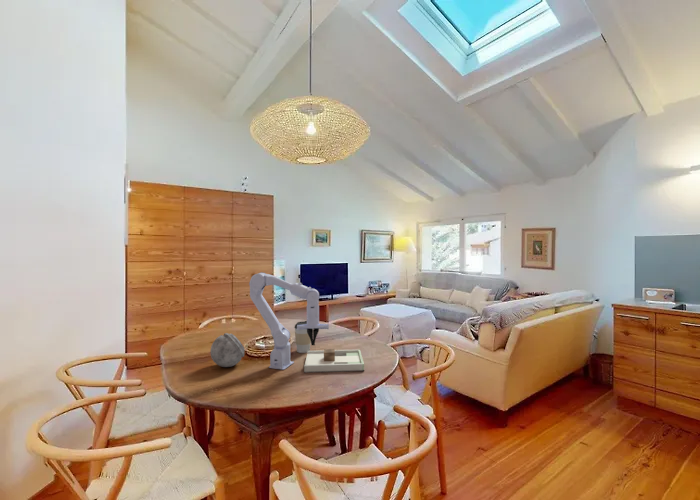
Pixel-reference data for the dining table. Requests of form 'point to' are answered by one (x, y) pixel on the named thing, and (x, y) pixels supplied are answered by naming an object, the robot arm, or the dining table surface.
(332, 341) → the dining table surface
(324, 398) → the dining table surface
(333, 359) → the walnut block
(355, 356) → the board
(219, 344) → the decorative orb
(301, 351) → the coffee cup
